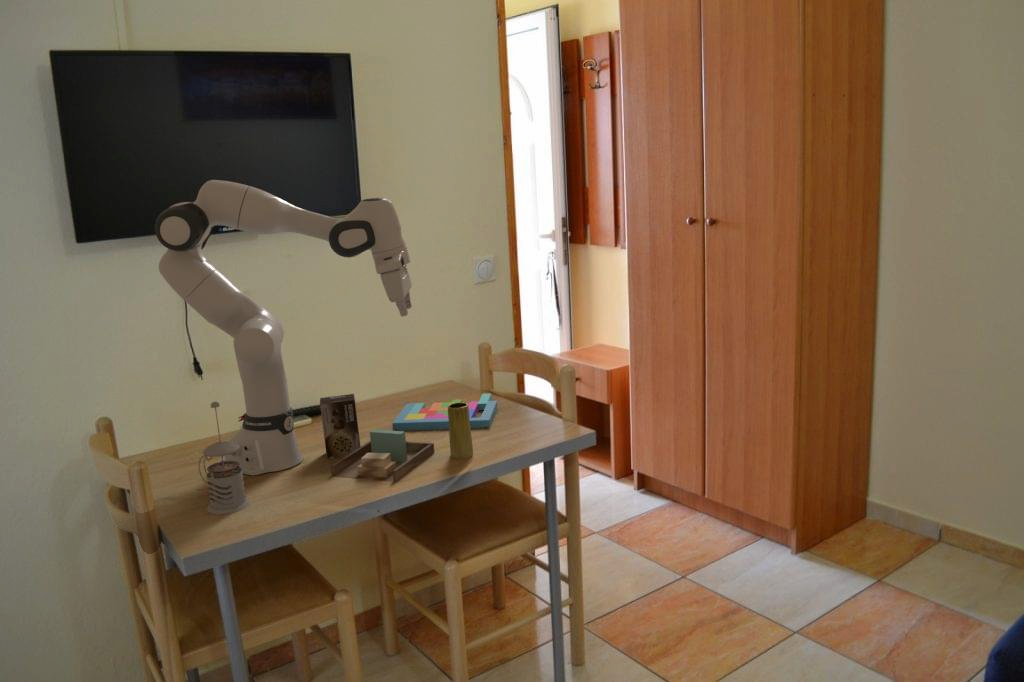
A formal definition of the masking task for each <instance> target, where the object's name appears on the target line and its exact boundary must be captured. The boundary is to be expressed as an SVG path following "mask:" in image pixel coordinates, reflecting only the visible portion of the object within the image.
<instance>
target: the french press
mask: <svg viewBox="0 0 1024 682" xmlns="http://www.w3.org/2000/svg"><path fill="white" fill-rule="evenodd" d="M210 408H212V409H214V411H215V418H216V424H217V425H216V426H217V430H218V431H217V432H218V440H219V442H214V443H212V444H210V445H208V446H207V447H205V448H204V449H203V450H202V454H203V455H202V456H201V457H200V458H199V460H198V466H197V467H198V471H199V475H200V477H201V479H202V481H203V482H204V483H205V484H207V489H208V495H209V501H210V503H209V505H208V506H207V508H206V511H207V513H209V512H210V513H209V514H212V513H213V514H212V515H227V514H233V513H237V512H239V511H240V512H241V511H242V510H244V509H246V508H248V507H249V506H251V502H252V501H251V500H250V499H249V498H248V497H246V491H245V490H246V488H245V481H244V474H243V473H242V469H241V468H240V467H239V465H240V463H239V462H237V461H229V460H228V461H224V462H223V457H225V456H226V455H230V454H233V453H235V452H237V451H238V450H239V448H240V446H239V445H237V444H235V443H233V442H227V440H226V441H221V434H220V427H219V420H218V413H217V412H218V411H217V408H220V403H219V402H218V401H212V402H211V404H210ZM208 457H210V458H208ZM213 457H214V458H215V457H216V458H218V457H221V459H222V462H218V461H217V462H218V463H217V462H215V463H212V464H210V465H208V467H207V468H206V464H205V462H206V461H210V460H212V459H213ZM202 459H203V470H204V471H205V474H206V480H207V481H206V480H205V479H204V477H203V475H202V473H201V469H200V468H201V467H200V465H201V461H202ZM232 470H233V471H232ZM207 471H208V472H207ZM234 471H237V472H234ZM229 472H232V473H229ZM226 473H228V474H226ZM212 474H213V475H212ZM225 474H226V475H225ZM212 476H213V478H212ZM214 490H215V491H214Z"/></svg>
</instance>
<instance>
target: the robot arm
mask: <svg viewBox="0 0 1024 682" xmlns="http://www.w3.org/2000/svg"><path fill="white" fill-rule="evenodd" d="M215 226H224V227H229V228H232V229H234V230H239V231H242V232H246V233H251V234H257V235H258V234H259V235H272V234H279V233H296V234H299V235H300V234H301V235H303V236H304V235H305V236H308V237H312V238H316V239H319V240H323V241H326V242H328V244H329V246H330V248H331V250H332V251H333V252H334V253H336V255H338V256H340V257H343V258H348V259H349V258H356V257H358V256H360V255H361V254H362V253H363V252H366V251H367V250H369V251H370V252H371V256H372V259H373V262H374V266H375V271H376V274H377V275H379V276H380V279H381V282H382V286H383V288H384V290H385V293H386V296H387V298H388V300H389V301H390V303H395V305H396V307H397V309H398V312H399V315H400V317H406V316H408V313H409V311H408V310H409V309H411V308H412V306H413V305H412V301H411V295H410V290H411V289H412V280H411V278H410V275H409V271H408V267H407V264H410V263H411V259H410V256H409V251H408V248H407V247H408V246H407V244H406V242H405V240H404V238H403V236H402V226H401V222H400V219H399V216H398V212H397V211H396V209H395V206H394V203H393V202H392V201H391V200H390V199H388V198H386V197H370V198H364V199H362V200H361V201H360V202H358V205H356V207H354V209H352V210H351V211H350V212H349V213H348V214H347V215H343V216H330V215H325V214H322V213H319V212H315V211H311V210H308V209H305V208H304V209H303V208H301V207H298V206H295V205H294V204H292V203H290V202H288V201H286V200H284V199H282V198H280V197H278V196H276V195H274V194H272V193H270V192H268V191H265V190H263V189H260V188H257V187H254V186H251V185H247V184H244V183H243V184H242V183H239V182H234V181H228V180H221V179H219V180H218V179H210V180H208V181H206V182H205V183H204V184H203V185H202V186H201V187H200V189H199V191H198V194H197V197H196V200H194V201H192V200H189V201H188V200H187V201H184V202H183V201H182V202H177V203H175V204H172V205H171V206H169V207H168V208H166V209H165V210H163V211H162V212H161V213H160V214H159V216H158V217H157V218H156V221H155V225H154V231H155V236H156V238H157V241H159V243H160V244H161V245H162V246H163V247H164V248H167V250H166V251H165V253H164V254H163V255H162V256H161V258H160V260H159V263H158V271H159V274H160V275H161V276H162V278H163V279H164V280H165V282H166V283H167V284H168V285H169V286H170V288H171V289H172V290H174V291H173V292H175V293H176V294H177V295H178V296H179V297H180V298H181V299H182V300H183V301H184V302H185V303H186V304H187V305H189V306H190V307H191V308H192V309H193V310H194V311H195V312H196V313H197V314H199V315H200V316H201V317H202V318H204V320H205V321H206V322H207V323H209V324H211V325H212V326H213V325H214V326H215V327H217V328H218V329H220V330H222V331H223V332H224V333H226V334H227V335H229V336H230V337H231V338H233V349H234V354H235V355H234V356H235V359H236V362H237V363H236V364H237V368H238V373H239V376H240V379H241V384H242V390H243V399H244V405H245V411H246V412H245V413H244V414H243V415H240V416H238V418H237V419H239V420H238V422H241V421H242V424H241V425H242V427H241V428H240V429H239V430H237V431H236V432H235V433H234V434H233V435H232V436H231V437H230V438H229V439H228V440H226V442H233V443H235V444H237V445H239V446H240V448H239V450H238V451H237V452H235V453H233V454H230V455H226V456H223V462H224V461H228V460H229V461H237V462H239V463H240V465H239V467H240V468H241V469H242V473H243V475H249V476H258V475H262V474H265V473H271V472H272V473H273V472H277V471H279V472H280V471H282V470H287V469H289V468H292V467H295V466H297V465H299V464H301V462H302V461H303V459H304V457H303V455H302V453H301V449H300V448H299V444H298V441H297V437H296V433H295V429H294V425H295V424H294V423H295V419H294V413H293V408H292V407H291V401H290V395H289V387H288V377H287V375H286V370H285V365H284V361H283V356H282V348H281V347H282V343H283V340H284V336H285V335H284V328H283V324H282V323H281V322H280V320H279V319H278V318H277V317H276V316H275V315H274V314H272V313H270V311H268V310H267V309H265V308H264V307H263V306H262V305H260V304H259V303H257V302H256V301H255V300H254V299H252V298H250V296H248V295H246V294H245V293H244V292H243V291H241V290H240V289H239V288H238V287H237V286H236V285H235V284H234V283H232V281H230V279H229V278H227V277H226V276H225V275H224V274H223V273H222V272H220V270H219V269H217V268H216V266H214V265H213V264H212V263H211V262H210V261H209V260H208V259H207V258H206V257H205V256H204V253H203V251H202V250H203V249H204V248H205V246H206V244H207V242H208V240H209V238H210V236H211V234H212V232H213V229H214V227H215ZM218 462H222V458H220V459H219V460H218V461H217V462H216V463H218ZM231 472H233V473H238V472H237V471H233V470H232V471H231Z"/></svg>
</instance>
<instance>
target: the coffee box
mask: <svg viewBox="0 0 1024 682" xmlns="http://www.w3.org/2000/svg"><path fill="white" fill-rule="evenodd" d="M319 407H320V414H321V422H322V430H323V438H324V445H325V446H324V447H325V456H326V460H333V459H342V458H344V457H345V456H347V455H349V454H350V453H352V452H353V451H355V450H356V449H358V448H360V447H361V446H362V445H361V439H360V438H361V437H360V432H359V431H360V429H359V423H358V414H357V405H356V397H355V394H354V393H350V394H342V395H341V394H340V395H333V396H326V397H320V400H319Z"/></svg>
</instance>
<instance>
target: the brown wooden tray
mask: <svg viewBox="0 0 1024 682" xmlns="http://www.w3.org/2000/svg"><path fill="white" fill-rule="evenodd" d="M360 446H361V447H360V448H358V449H356V450H355V451H353V452H352V453H350V454H349V455H347V456H345V457H342V458H340V459H339V460H337V461H336V462H334V463H333V464H331V465H330V472H331V477H335V478H337V477H338V478H347V479H359V480H369V481H381V482H391V483H396V482H397V481H399V480H400V479H402V478H403V477H404V476H406V475H407V474H408V473H409V472H411V471H412V470H414V469H415V468H416V467H417V466H418V465H420V464H421V463H423V462H424V461H425V460H427V459H428V458H429V457H430V456H432V455H433V454H434V453H435V443H434V442H424V441H410V440H409V441H408V440H407V441H406V450H407V460H406V461H405V462H396V467H397V468H396V469H395V470H393V473H392V474H391V475H390V476H388V477H387V478H385V477H373V476H362V475H358V470H357V466H359V465H360V464H362V462H361V458H362V457H363V456H364V455H365V454H367V453H372V449H371V440H369V441H367V442H366V443H364V444H363V445H360ZM391 462H393V461H391Z"/></svg>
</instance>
